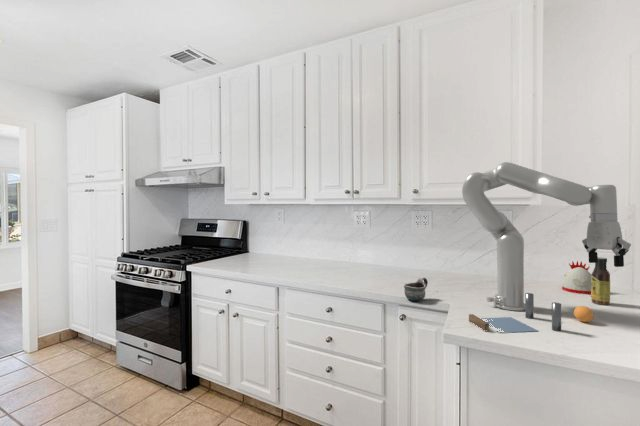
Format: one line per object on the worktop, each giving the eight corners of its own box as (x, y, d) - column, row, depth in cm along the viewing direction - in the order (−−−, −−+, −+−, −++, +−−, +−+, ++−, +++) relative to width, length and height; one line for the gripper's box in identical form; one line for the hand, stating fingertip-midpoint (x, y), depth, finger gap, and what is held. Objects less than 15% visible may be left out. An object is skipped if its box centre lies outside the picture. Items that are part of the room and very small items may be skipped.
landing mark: (499, 333, 108) (499, 332, 108) (475, 318, 122) (475, 318, 122) (538, 331, 109) (538, 330, 109) (510, 317, 123) (510, 317, 123)
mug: (399, 300, 148) (399, 278, 148) (414, 295, 157) (414, 274, 156) (418, 304, 141) (418, 281, 141) (433, 299, 149) (433, 277, 149)
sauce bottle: (591, 300, 145) (591, 256, 144) (609, 303, 141) (609, 257, 140) (591, 303, 139) (591, 257, 139) (610, 306, 135) (610, 259, 135)
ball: (583, 324, 115) (583, 308, 115) (569, 319, 120) (569, 304, 120) (598, 324, 115) (598, 308, 115) (583, 318, 121) (583, 303, 121)
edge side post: (556, 331, 109) (556, 304, 109) (549, 328, 111) (549, 302, 111) (563, 331, 109) (563, 304, 109) (557, 328, 112) (557, 302, 112)
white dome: (561, 286, 171) (561, 258, 171) (595, 289, 163) (595, 260, 163) (562, 292, 160) (562, 261, 160) (599, 296, 152) (599, 264, 152)
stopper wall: (484, 331, 110) (484, 323, 110) (468, 321, 120) (468, 314, 120) (488, 331, 110) (488, 323, 110) (472, 320, 120) (472, 314, 120)
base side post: (528, 318, 122) (528, 294, 121) (523, 316, 124) (523, 293, 124) (535, 318, 122) (535, 294, 122) (530, 316, 124) (530, 292, 124)
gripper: (573, 218, 128) (575, 261, 128) (618, 218, 111) (620, 268, 111) (591, 217, 129) (592, 260, 129) (637, 218, 112) (640, 267, 112)
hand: (605, 264), depth 120 cm, fingers open, 9 cm apart
